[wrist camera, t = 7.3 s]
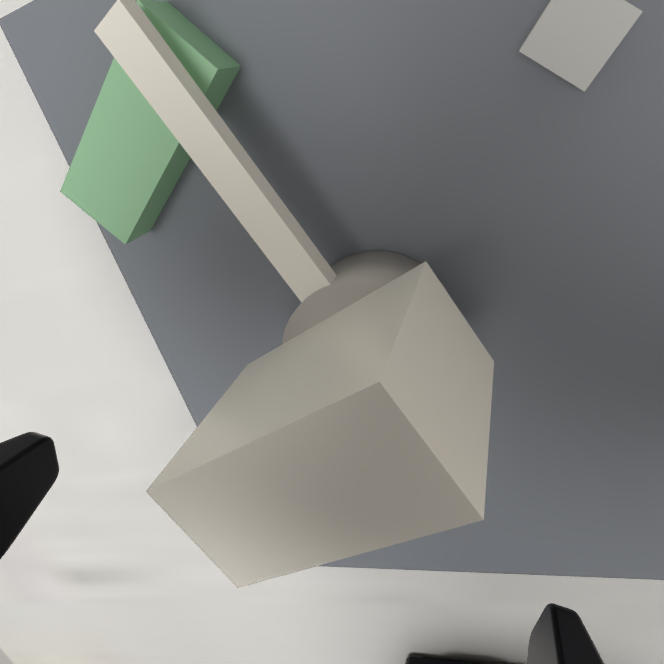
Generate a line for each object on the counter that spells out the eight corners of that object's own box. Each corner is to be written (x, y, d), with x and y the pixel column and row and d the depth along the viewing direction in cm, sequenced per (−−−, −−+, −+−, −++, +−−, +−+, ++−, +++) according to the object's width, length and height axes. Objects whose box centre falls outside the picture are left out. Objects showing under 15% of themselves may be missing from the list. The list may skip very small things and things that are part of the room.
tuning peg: (509, 334, 15) (505, 549, 9) (346, 408, 18) (257, 608, 12) (238, -77, 12) (-50, -188, 6) (97, 92, 15) (-193, 135, 9)
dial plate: (706, 544, 18) (734, 619, 16) (276, 537, 25) (252, 589, 23) (681, -312, 10) (732, -418, 8) (37, 20, 16) (-43, 19, 14)
